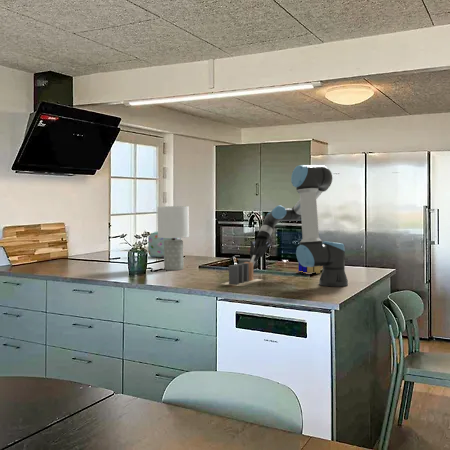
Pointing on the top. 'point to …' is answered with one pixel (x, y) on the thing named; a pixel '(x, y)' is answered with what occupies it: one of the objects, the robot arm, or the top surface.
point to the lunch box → (156, 245)
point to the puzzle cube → (309, 269)
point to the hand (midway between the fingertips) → (251, 265)
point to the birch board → (244, 282)
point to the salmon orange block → (250, 270)
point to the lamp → (173, 233)
